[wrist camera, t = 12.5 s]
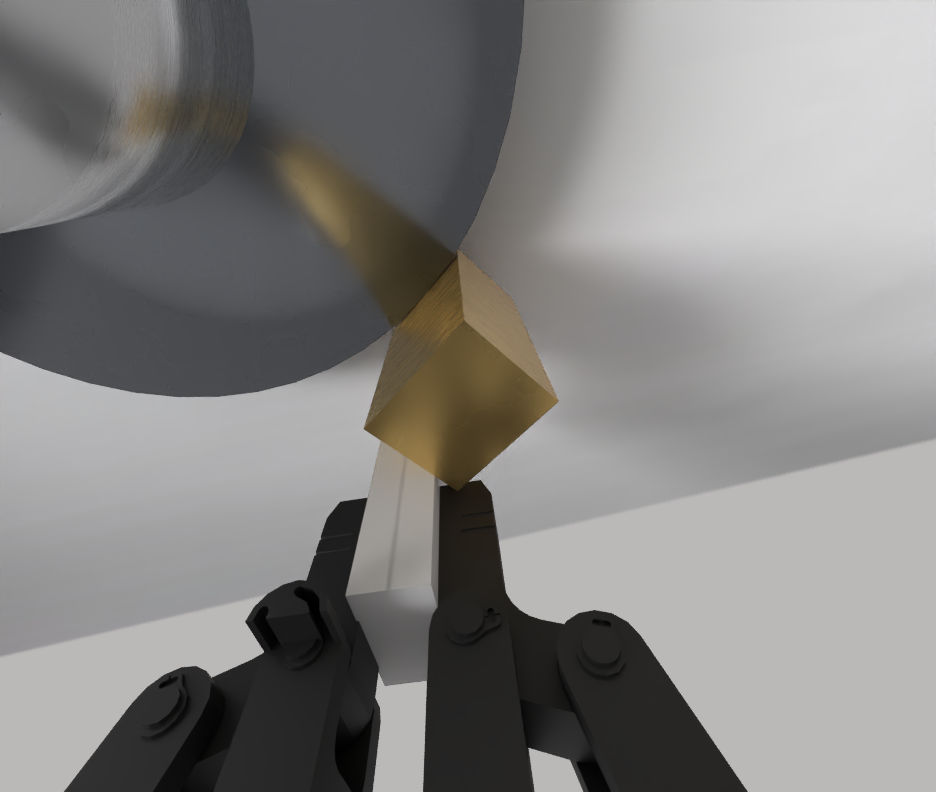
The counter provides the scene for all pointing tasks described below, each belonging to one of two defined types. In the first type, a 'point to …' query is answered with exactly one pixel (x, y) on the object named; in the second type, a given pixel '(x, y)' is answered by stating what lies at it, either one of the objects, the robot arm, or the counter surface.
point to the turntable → (315, 239)
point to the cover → (117, 103)
